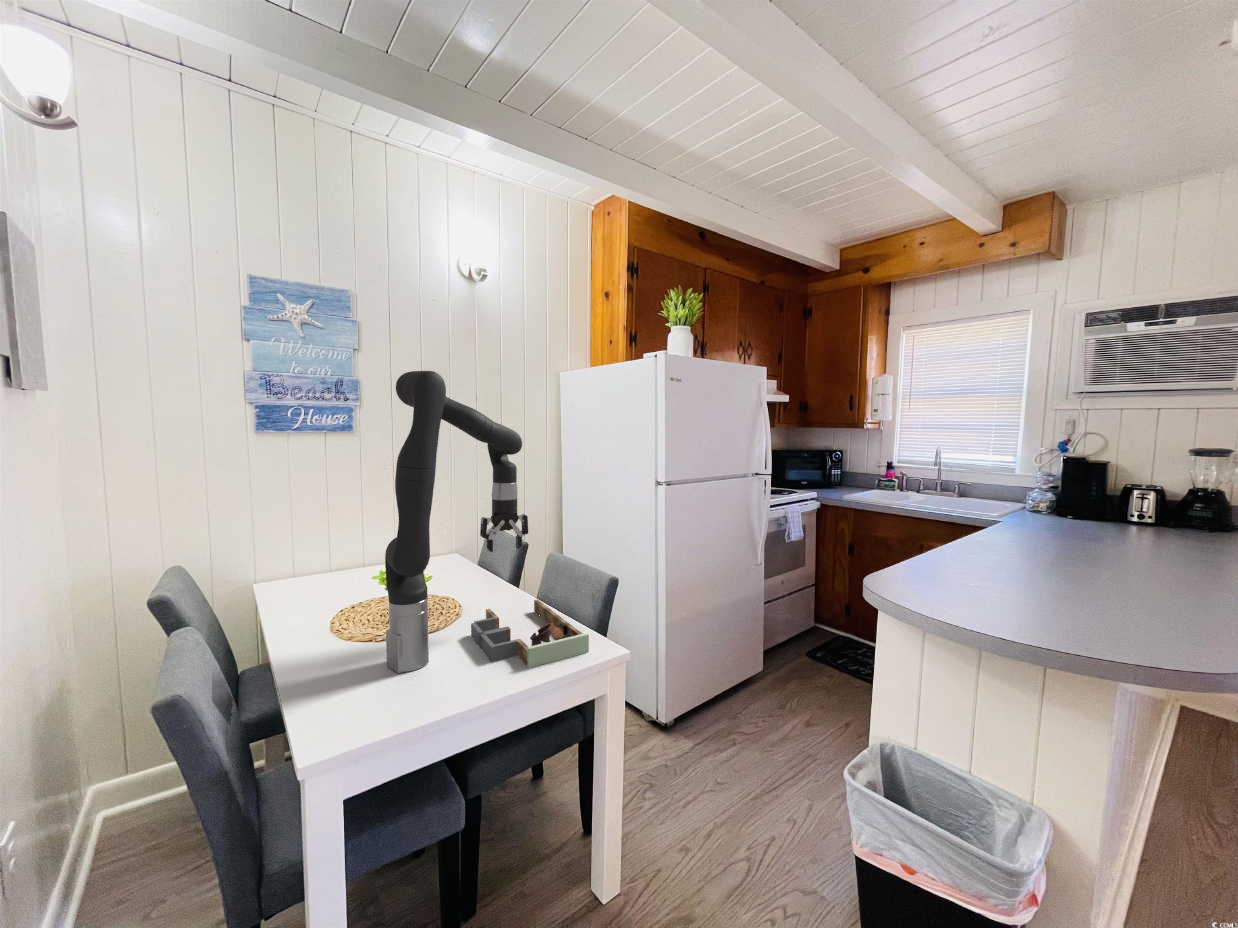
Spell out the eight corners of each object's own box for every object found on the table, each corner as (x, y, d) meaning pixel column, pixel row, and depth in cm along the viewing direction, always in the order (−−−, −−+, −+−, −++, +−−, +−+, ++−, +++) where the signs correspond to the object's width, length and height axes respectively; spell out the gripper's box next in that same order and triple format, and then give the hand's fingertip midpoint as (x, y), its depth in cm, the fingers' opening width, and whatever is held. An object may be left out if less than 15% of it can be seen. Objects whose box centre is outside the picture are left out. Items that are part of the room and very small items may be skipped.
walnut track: (586, 650, 140) (586, 636, 140) (527, 665, 131) (527, 650, 130) (537, 611, 168) (537, 599, 168) (486, 621, 159) (485, 609, 159)
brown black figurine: (557, 663, 133) (541, 636, 133) (535, 668, 139) (520, 642, 139) (583, 636, 143) (568, 611, 143) (561, 642, 149) (547, 618, 149)
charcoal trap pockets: (517, 655, 136) (517, 641, 136) (491, 661, 133) (491, 647, 132) (493, 630, 153) (493, 617, 152) (470, 635, 149) (469, 622, 149)
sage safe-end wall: (588, 652, 139) (588, 634, 139) (529, 667, 130) (529, 648, 129) (586, 650, 140) (586, 632, 140) (527, 665, 131) (527, 647, 130)
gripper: (484, 500, 146) (484, 555, 147) (531, 497, 153) (531, 550, 155) (477, 496, 153) (477, 549, 154) (522, 494, 160) (522, 544, 161)
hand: (504, 549), depth 154 cm, fingers open, 8 cm apart
